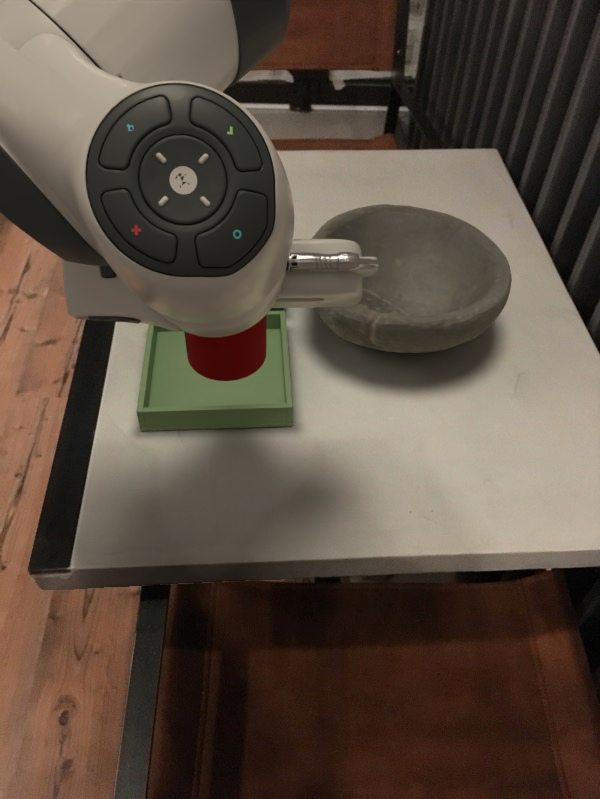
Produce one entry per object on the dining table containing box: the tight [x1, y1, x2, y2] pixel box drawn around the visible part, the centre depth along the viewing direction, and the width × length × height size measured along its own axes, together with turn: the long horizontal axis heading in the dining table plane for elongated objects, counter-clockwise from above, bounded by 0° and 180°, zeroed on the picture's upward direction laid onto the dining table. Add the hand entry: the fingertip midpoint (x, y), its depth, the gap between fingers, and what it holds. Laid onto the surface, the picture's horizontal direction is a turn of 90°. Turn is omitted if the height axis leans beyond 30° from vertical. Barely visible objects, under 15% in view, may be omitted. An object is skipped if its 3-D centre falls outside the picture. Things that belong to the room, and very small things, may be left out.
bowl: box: [311, 203, 513, 354], centre depth 77 cm, size 23×22×10 cm
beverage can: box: [184, 315, 267, 381], centre depth 54 cm, size 7×7×12 cm
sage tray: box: [136, 310, 294, 432], centre depth 73 cm, size 15×15×3 cm
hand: (223, 294), depth 54 cm, fingers closed on beverage can, 7 cm apart
